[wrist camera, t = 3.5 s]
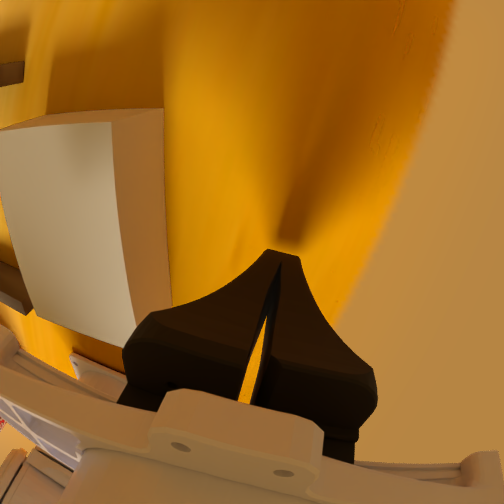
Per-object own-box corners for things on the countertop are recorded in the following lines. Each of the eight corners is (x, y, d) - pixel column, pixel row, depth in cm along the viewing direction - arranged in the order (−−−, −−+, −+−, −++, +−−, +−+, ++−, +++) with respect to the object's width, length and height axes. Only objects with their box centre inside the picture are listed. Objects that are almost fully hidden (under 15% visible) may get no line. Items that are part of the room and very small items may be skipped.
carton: (174, 301, 17) (142, 354, 14) (75, 276, 18) (37, 315, 15) (167, 107, 12) (111, 122, 9) (49, 113, 13) (-9, 132, 9)
